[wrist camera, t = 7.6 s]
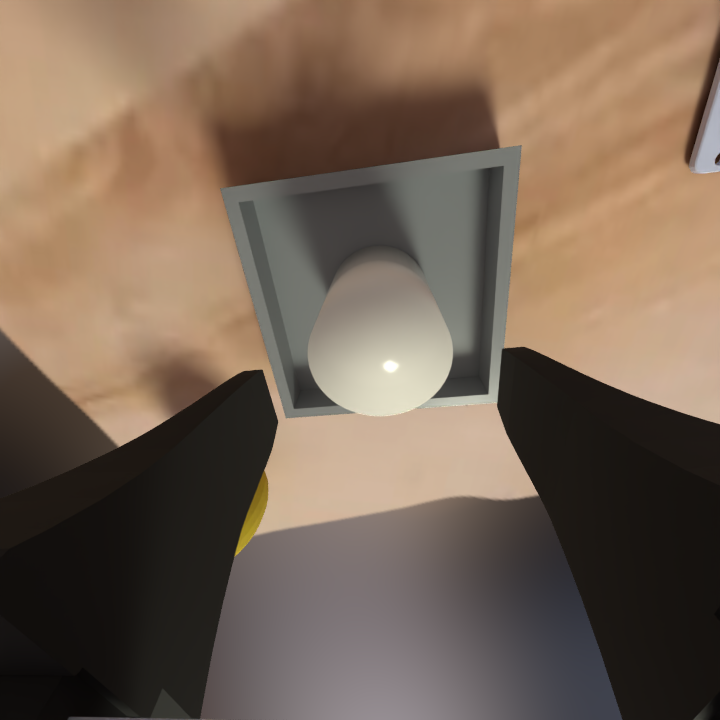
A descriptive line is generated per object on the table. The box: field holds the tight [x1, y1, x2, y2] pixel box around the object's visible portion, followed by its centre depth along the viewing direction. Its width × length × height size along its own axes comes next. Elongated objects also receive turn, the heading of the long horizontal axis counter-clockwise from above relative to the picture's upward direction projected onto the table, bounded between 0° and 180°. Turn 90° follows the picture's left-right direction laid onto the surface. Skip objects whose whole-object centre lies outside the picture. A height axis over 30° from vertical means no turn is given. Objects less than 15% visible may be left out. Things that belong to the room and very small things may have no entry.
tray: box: [220, 145, 522, 418], centre depth 17 cm, size 12×12×2 cm
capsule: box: [308, 245, 453, 416], centre depth 15 cm, size 5×5×7 cm
